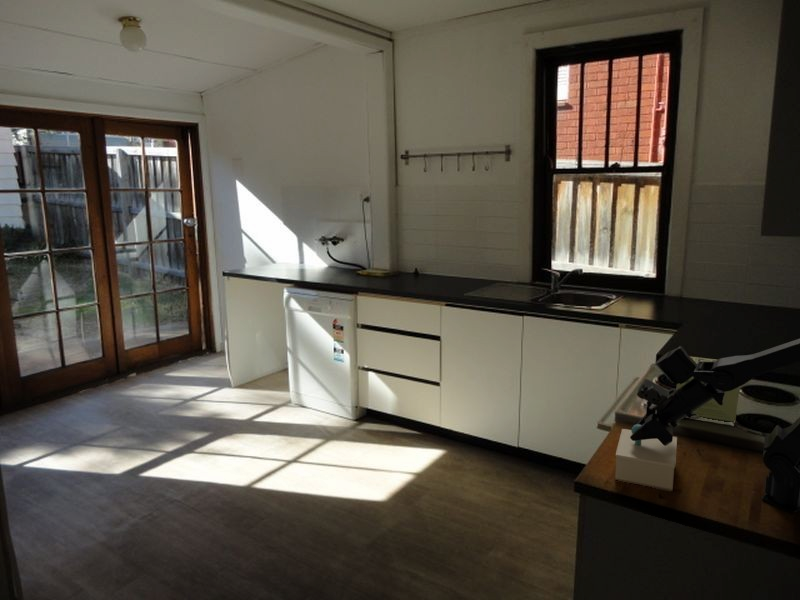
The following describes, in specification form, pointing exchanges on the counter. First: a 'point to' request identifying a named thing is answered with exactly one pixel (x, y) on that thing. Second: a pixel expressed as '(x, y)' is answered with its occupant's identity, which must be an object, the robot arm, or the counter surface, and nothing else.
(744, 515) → the counter surface
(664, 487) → the carton
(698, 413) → the protein box
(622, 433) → the carton lid
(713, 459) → the counter surface
